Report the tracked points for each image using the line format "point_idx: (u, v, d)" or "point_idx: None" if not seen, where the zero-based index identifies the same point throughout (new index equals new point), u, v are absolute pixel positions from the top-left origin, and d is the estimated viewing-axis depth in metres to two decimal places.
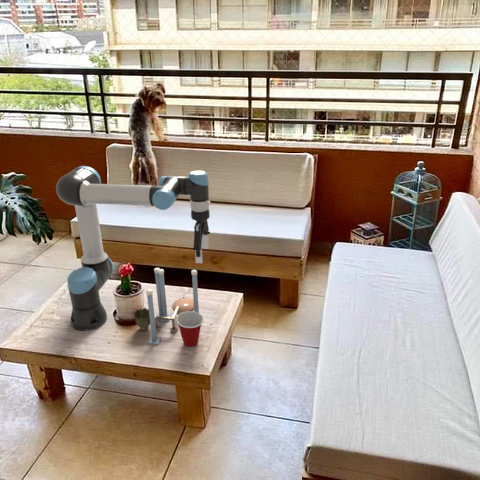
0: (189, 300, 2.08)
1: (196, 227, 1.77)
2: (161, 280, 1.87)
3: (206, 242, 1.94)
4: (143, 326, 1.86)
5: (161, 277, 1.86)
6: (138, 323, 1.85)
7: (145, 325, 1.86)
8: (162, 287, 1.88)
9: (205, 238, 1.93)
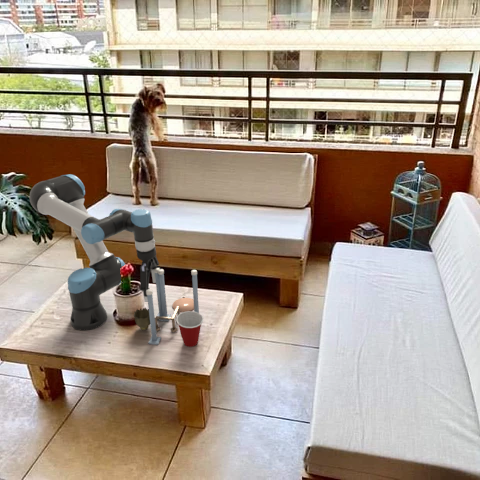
0: (189, 300, 2.08)
1: (142, 267, 1.73)
2: (161, 280, 1.87)
3: None
4: (143, 326, 1.86)
5: (161, 277, 1.86)
6: (138, 323, 1.85)
7: (145, 325, 1.86)
8: (162, 287, 1.88)
9: None
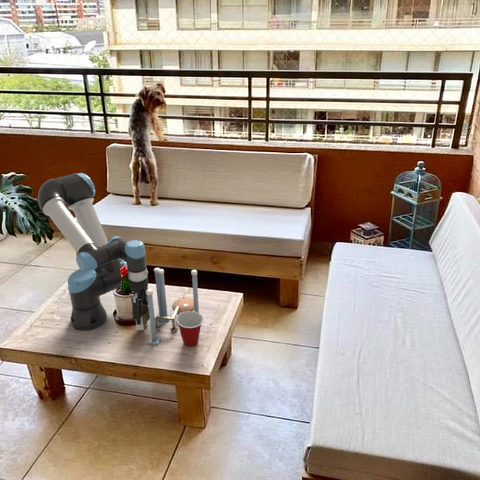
0: (189, 300, 2.08)
1: (133, 300, 1.76)
2: (161, 280, 1.87)
3: None
4: None
5: (161, 277, 1.86)
6: None
7: (144, 321, 1.85)
8: (162, 287, 1.88)
9: None
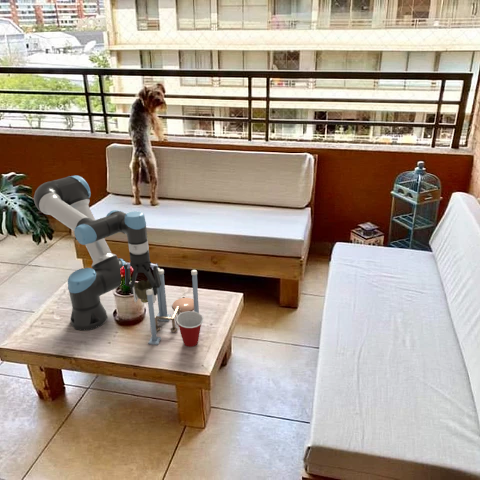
0: (189, 300, 2.08)
1: None
2: (161, 280, 1.87)
3: None
4: None
5: (161, 277, 1.86)
6: None
7: None
8: (162, 287, 1.88)
9: None
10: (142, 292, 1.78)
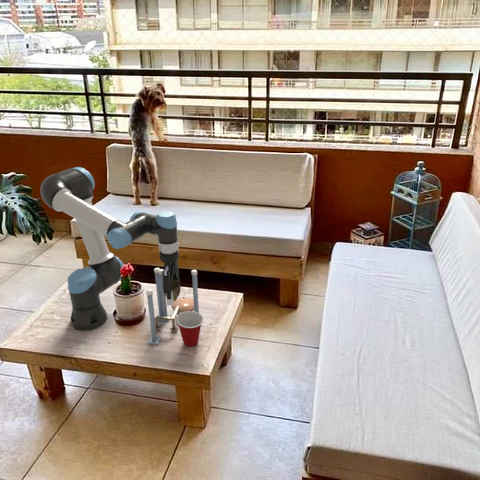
0: (189, 300, 2.08)
1: (164, 273, 1.72)
2: (161, 280, 1.87)
3: None
4: None
5: (161, 277, 1.86)
6: None
7: (174, 296, 1.81)
8: (162, 287, 1.88)
9: None
10: (180, 286, 1.82)
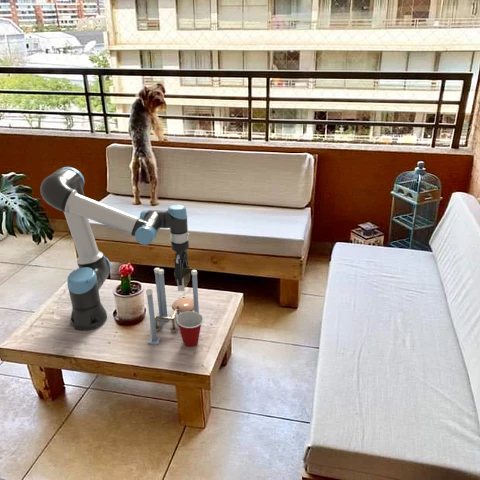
0: (189, 300, 2.08)
1: (176, 260, 1.88)
2: (161, 280, 1.87)
3: None
4: None
5: (161, 277, 1.86)
6: None
7: (185, 282, 1.97)
8: (162, 287, 1.88)
9: None
10: None
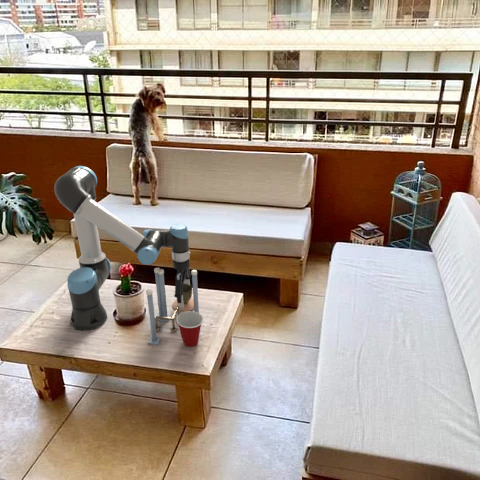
0: (189, 300, 2.08)
1: (177, 276, 1.91)
2: (161, 280, 1.87)
3: None
4: (185, 300, 2.03)
5: (161, 277, 1.86)
6: None
7: (186, 299, 2.03)
8: (162, 287, 1.88)
9: (187, 283, 2.08)
10: None
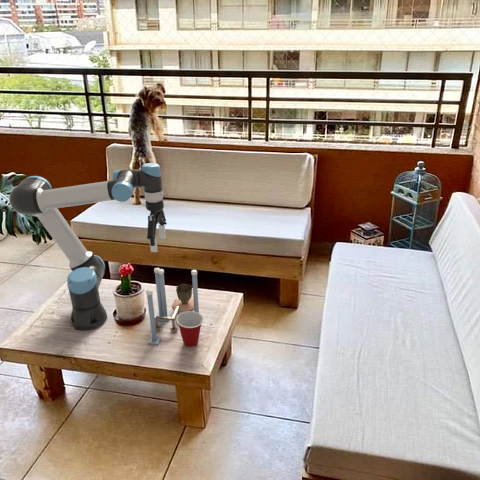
0: (189, 300, 2.08)
1: (149, 217, 1.85)
2: (161, 280, 1.87)
3: (163, 232, 2.02)
4: (185, 300, 2.03)
5: (161, 277, 1.86)
6: (180, 297, 2.02)
7: (186, 299, 2.03)
8: (162, 287, 1.88)
9: (162, 228, 2.02)
10: None
